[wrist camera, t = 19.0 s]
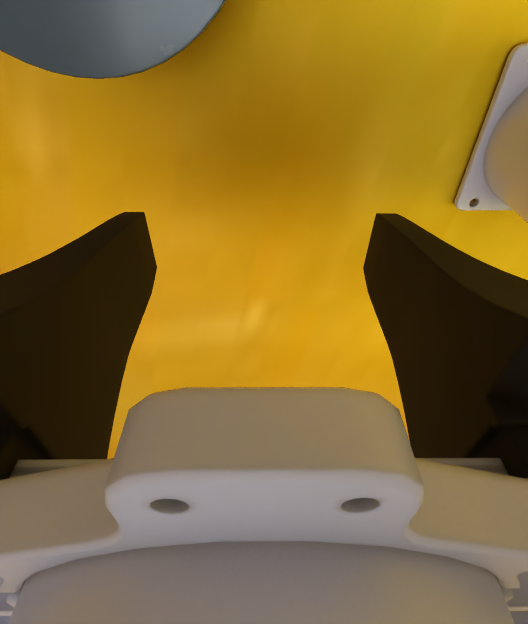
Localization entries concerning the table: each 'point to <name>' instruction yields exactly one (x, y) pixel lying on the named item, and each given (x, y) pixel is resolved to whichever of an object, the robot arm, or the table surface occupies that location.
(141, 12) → the lid
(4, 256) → the table surface
